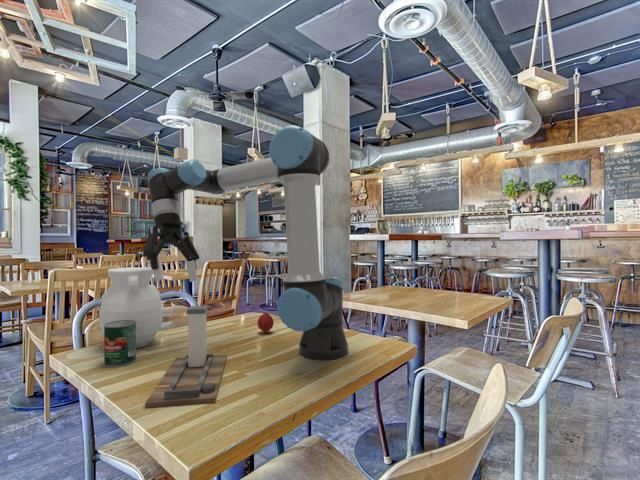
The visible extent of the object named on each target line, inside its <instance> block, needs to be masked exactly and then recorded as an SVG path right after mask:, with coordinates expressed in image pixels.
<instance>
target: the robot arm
mask: <svg viewBox="0 0 640 480" xmlns="http://www.w3.org/2000/svg"><path fill="white" fill-rule="evenodd" d="M268 153H269V157H268V158H263V159H258V160H257V159H256V160H255V161H254V160H253V161H249V162H245V163H239V164H235V165H230V166H226V167H223V168H219V169H218V168H217V169H214V170H209V169H206V168H205V166H204V165H203V163H200V161H199V160H197V159H190V160H188V161H184V162H182V163H180V164H178V165H177V166H175V167H173V168H171V169H168V168H164V167H157V168H153V169H151V170H150V171H149V172H148V173H147V186H148V191H149V196H150V201H151V207H152V215H153V217H154V218H153V221H154V226H151V227H150V228H148V237H147V239H146V241H145V242H146V243H145V246H144V250H143V252H142V256H143V258H146V260H147V261H149V262H150V267H151V268H152V270H153V277H154V282H155V283H156V282H157V283H158V282H159V281H162V280H164V279H165V278H164V271H163V265H162V257H158V256H159V255H160V254H161V252H162V250H163V248H164V246H165V245H170V246H173V247H175V248H177V249H178V251H179V252H180V253H181V255H182V256H183V257H184V259H185V260H186V261H187V262H186V268H187V275H188V279H189V280H188V281H189V282H190V283H193V282H195V281H198V280H199V279H198V273H197V263H196V261H197V260H199V259H200V256H199V254H198V251H197V249H196V248H195V246H194V244H193V242H192V241H191V239H190V235H189V232H188V231H184V232H182V231H181V230H180V228H181V226H182V221H181V217H180V211H179V210H180V209H179V205H178V200H177V195H179V194H180V193H183V192H185V191H187V190H190V191H195V192H196V191H198V192H202V193H208V194H211V195H223V194H225V193H226V192H227V191H230V190H235V189H240V188H246V187H250V186H251V187H252V186H256V185H262V184H266V183H271V182H276V181H278V182H279V183H280V184H281V185H282V186H283V194H284V215H285V235H286V237H285V238H286V254H287V258H286V259H287V275H286V276H285V277H284V278H283V279H282V283H283V287H282V289H283V292H282V293H281V295H280V296H279V297H278V300H277V305H276V309H277V313H278V317H279V320H280V321H281V322H282V323H283V324H284V325H285V326H286V327H287V328H288V329H290V330H291V331H295V332H300V333H301V332H302V334H301V337H300V340H299V343H298V353H299V354H300V355H301V356H303V357H304V358H305V357H306V358H307V359H314V360H333V359H340V358H342V356H343V357H345V356H347V354H349V344H348V340H347V337H346V334H345V330H344V328H343V291H344V287H343V280H342V279H341V278H339V277H328V276H325V275H324V274H323V273H322V272H321V269H320V253H319V252H320V251H319V235H318V234H319V232H318V215H317V214H318V213H317V211H318V210H317V196H316V184H317V182H318V181H319V180H320V179H321V175H322V174H323V173H324V172H325V171H326V169H327V168H328V166H329V163H330V152H329V149H328V147H327V145H326V144H325V142H323V141H322V140H321V139H320V138H318V137H316V136H315V135H314V134H312V133H311V132H310V131H309V130H308V129H307V128H303V127H301V126H298V125H293V124H292V125H285V126H284V127H282V128H280V129H279V130H278V131H277V132H276V133H275V135H273V136H272V138H271V140H270V143H269V148H268ZM158 237H159V238H158ZM344 355H345V356H344ZM339 357H340V358H339Z"/></svg>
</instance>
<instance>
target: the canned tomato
mask: <svg viewBox="0 0 640 480" xmlns="http://www.w3.org/2000/svg"><path fill="white" fill-rule="evenodd" d="M103 338H104V340H103V341H104V343H103V345H104V346H103V351H104V352H103V355H104V356H103V360H104V362H103V366H105V367H107V368H116V367H117V368H118V367H123V366H124V367H125V366H128V365H130V364H133V363H135V362H136V361H137V357H136V356H137V348H136V321H134V320H120V321H113V322H109V323H106V324H105V325H104V335H103Z"/></svg>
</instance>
